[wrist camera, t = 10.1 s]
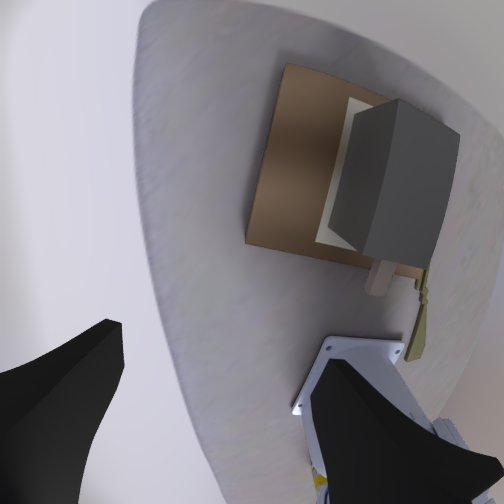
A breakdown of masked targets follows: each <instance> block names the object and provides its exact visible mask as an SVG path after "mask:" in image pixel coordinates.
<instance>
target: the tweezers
mask: <svg viewBox="0 0 504 504" xmlns="http://www.w3.org/2000/svg"><path fill="white" fill-rule="evenodd" d="M429 267H430V263H429V266H428V269H427V270H424V269H423V271H422V274H421V277H420V279H416V283H415V289H416V290H419V291H420V297H419V301H420V302H421V306H420V309H419V313H418V317H417V320H416V324H415V327H414V331H413V334H412V337H411V340H410V343H409V346H408V349H407V352H406V355H405V358H404V359H405V361H406V362H409V361H413V360H416V359H420V358H421V355H422V352H423V350H424V347H425V336H426V306H427V303H428V300H427V299H426V296H427V293H428V289H427V288H426V287H425V286H426V282H427V277H428V272H429Z"/></svg>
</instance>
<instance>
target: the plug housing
mask: <svg viewBox="0 0 504 504" xmlns="http://www.w3.org/2000/svg"><path fill="white" fill-rule="evenodd" d="M459 142H460V134H458V133H457V132H455V131H454V130H452V129H451V128H449V127H448V126H446V125H445V124H443V123H442V122H440V121H438V120H437V119H435V118H433V117H432V116H430V115H428V114H427V113H425V112H423V111H421V110H420V109H418V108H416V107H414V106H412V105H411V104H409V103H407V102H405V101H403V100H401V99H399V98H398V99H395V100H392V101H389V102H386V103H383V104H380V105H378V106H375V107H372V108H369V109H366V110H364V111H361V112H358V113H356V114H354V118H353V123H352V128H351V133H350V138H349V142H348V147H347V152H346V156H345V160H344V165H343V169H342V173H341V177H340V181H339V185H338V189H337V193H336V197H335V201H334V205H333V209H332V212H331V216H330V220H329V223H328V228H330V229H331V230H332V231H333V232H335V233H336V234H337V235H338V236H340V237H341V238H342V239H343V240H345V241H346V242H347V243H348V244H350V245H351V246H352V247H353V248H355V249H356V250H357V251H358V252H359V253H361V254H362V255H365V256H370V257H374V261H373V264H372V266H371V269H370V272H369V275H368V278H367V280H366V283H365V286H364V288H363V289H364V290H365V291H366V292H367V293H368V294H369V295H373V296H380V297H385V295H386V293H387V291H388V288H389V286H390V283H391V280H392V278H393V275H394V273H395V270H396V267H397V264H398V263H400V264H404V265H408V266H412V267H416V268H420V269H424V270H427V269H428V266H429V263H430V261H431V258H432V255H433V252H434V249H435V246H436V243H437V240H438V237H439V233H440V230H441V227H442V223H443V220H444V216H445V212H446V209H447V205H448V201H449V196H450V192H451V188H452V183H453V178H454V173H455V167H456V162H457V156H458V149H459Z"/></svg>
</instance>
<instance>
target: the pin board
mask: <svg viewBox="0 0 504 504" xmlns="http://www.w3.org/2000/svg"><path fill="white" fill-rule="evenodd" d="M389 101H391V100H389V99H387V98H385V97H383V96H381V95H378V94H376V93H374V92H372V91H369V90H367V89H365V88H362V87H360V86H357V85H355V84H352V83H350V82H347V81H344V80H342V79H339V78H336V77H333V76H330V75H327V74H324V73H321V72H318V71H315V70H312V69H309V68H305V67H302V66H298V65H295V64H291V63H286V65H285V68H284V70H283V74H282V79H281V83H280V87H279V91H278V95H277V100H276V104H275V108H274V112H273V116H272V121H271V125H270V129H269V134H268V138H267V142H266V147H265V151H264V155H263V160H262V164H261V168H260V173H259V177H258V181H257V186H256V190H255V195H254V199H253V204H252V208H251V213H250V217H249V222H248V226H247V231H246V235H245V244H249V245H254V246H259V247H264V248H269V249H274V250H279V251H284V252H289V253H294V254H298V255H303V256H308V257H313V258H318V259H323V260H328V261H333V262H338V263H342V264H347V265H352V266H357V267H362V268H367V269H371V266H372V264H373V261H374V257H370V256H365V255H362V254H361V253H359V252H358V251H357V250H356V249H355V248H353V247H352V246H351V245H350V244H348V243H347V242H346V241H345V240H343V239H342V238H341V237H340V236H338V235H337V234H336V233H335V232H333V231H332V230H331V229H330V228H328V223H329V220H330V216H331V212H332V209H333V205H334V201H335V197H336V193H337V189H338V185H339V181H340V177H341V173H342V169H343V165H344V160H345V156H346V152H347V147H348V142H349V138H350V133H351V128H352V123H353V118H354V114H356V113H358V112H361V111H364V110H366V109H369V108H372V107H375V106H378V105H380V104H383V103H386V102H389ZM422 271H423V269H420V268H416V267H412V266H408V265H404V264H400V263H398V264H397V267H396V270H395V273H394V274H395V275H400V276H405V277H409V278H414V279H420V277H421V274H422Z"/></svg>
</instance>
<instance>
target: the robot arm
mask: <svg viewBox="0 0 504 504" xmlns="http://www.w3.org/2000/svg"><path fill="white" fill-rule="evenodd" d="M328 346H330V347H329V348H327V347H328ZM404 346H405V344H404V343H403V341H399V340H379V339H364V338H351V337H340V336H329V337H327V338H326V339H325V340H324V342H323V345H322V347H321V349H320V352H319V354H318V356H317V358H316V360H315V363H314V365H313V367H312V369H311V371H310V373H309V375H308V377H307V379H306V381H305V384H304V386H303V388H302V390H301V392H300V394H299V396H298V397H297V399H296V401H295V403H294V405H293V407H292V409H291V412H292V414H294V415H301V416H302V421H303V425H304V430H305V434H306V439H307V443H308V448H309V453H310V457H311V461H312V464H313V466H314V467H315V469H316V470H317V471H318V472H319V473H320V474H321V475H322V476H324V477H325V478H327V484H326V485H324V486H323V487H322V488H321V490H320V492H319V494H318V497H317V501H316V504H495V501H494V499H493V498H491V499H489V500H488V497H487V493H488V492H489V488H490V487H491V486H492V485H493V484H495V483H496V482H497V481H498V480H500V479H501V478H502V477H503V476H504V468H503V467H502V465H501V463H500V462H499V460H498V459H497V458H496V457H491V456H487V455H483V454H479V453H475V452H472V451H470V450H469V448H468V446H467V445H466V443H465V441H464V440H463V438H462V437H461V435H460V433H459V432H458V430H457V429H456V427H455V426H454V424H453V423H452V421H451V420H450V419H446V418H444V419H442V418H438V419H436V420H435V421H434V422H433V424H432V423H431V422H430V421H429V420H428V419H427V417H426V415H425V414H424V412H423V410H422V409H421V407H420V406H419V404H418V402H417V401H416V399H415V397H414V396H413V394H412V393H411V391H410V389H409V388H408V386H407V385H406V383H405V382H404V380H403V379H402V377H401V375H400V374H399V372H398V371H397V369H396V368H395V366H394V364H395V362H396V360H397V359H398V357H399V355H400V353H401V352H402V350H403V348H404ZM123 355H124V354H123V340H122V323H120V322H116V321H112V320H109V319H104V320H103V321H101V322H99V323H97V324H96V325H94V326H93V327H91V328H89V329H88V330H86V331H84V332H83V333H81V334H80V335H78V336H76V337H75V338H73V339H71V340H70V341H68V342H66V343H65V344H63V345H61V346H60V347H58V348H56V349H54V350H52V351H50V352H48V353H46V354H45V355H42V356H41V357H39V358H37V359H35V360H33V361H30V362H28V363H26V364H24V365H21V366H19V367H16V368H14V369H11V370H8V371H5V372H2V373H0V504H78V500H79V494H80V487H81V482H82V477H83V473H84V469H85V465H86V461H87V457H88V454H89V450H90V447H91V444H92V441H93V439H94V436H95V434H96V432H97V430H98V427H99V425H100V423H101V421H102V419H103V417H104V415H105V412H106V410H107V408H108V406H109V404H110V402H111V400H112V398H113V396H114V394H115V392H116V390H117V387H118V384H119V381H120V378H121V375H122V372H123V369H124V356H123Z"/></svg>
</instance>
